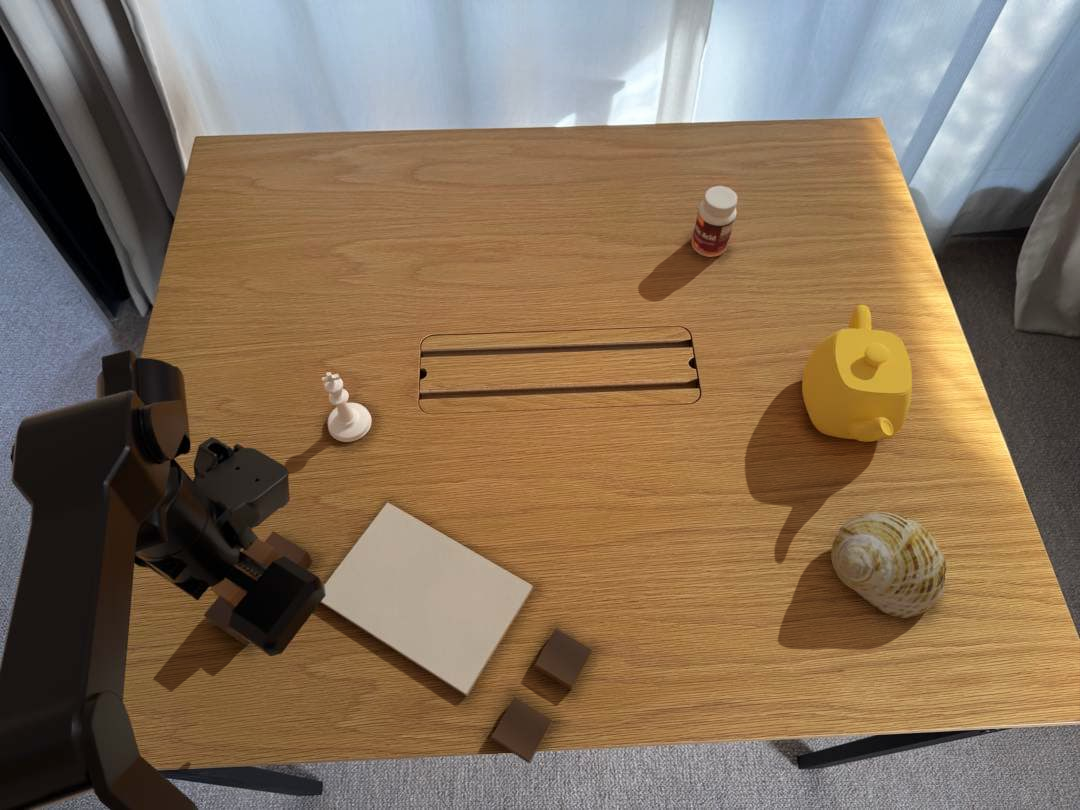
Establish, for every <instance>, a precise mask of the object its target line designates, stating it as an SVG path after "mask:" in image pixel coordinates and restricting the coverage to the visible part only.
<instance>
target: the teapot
mask: <svg viewBox="0 0 1080 810" xmlns="http://www.w3.org/2000/svg"><path fill="white" fill-rule="evenodd" d="M802 373H803V374H802V383H801V392H802V397H803V403H804V405H805V408H806V411H807V414H808V416H809V419H810V421H811V423H812V425H813V427H814V428H815V429H817V431H819V432H820V433H821V434H823V435H826V436H829V437H833V438H839V439H845V440H846V439H849V440H856V441H860V442H863V443H864V442H866V443H867V442H870V443H871V442H875V441H879V440H885V439H889V438H892V437H893V436H895V435H896V434H897V433H898V432H900V430H901V429H902V427H903V425H904V424H905V422H906V419H907V417H908V413H909V410H910V407H911V400H912V389H913V372H912V364H911V359H910V356H909V353H908V350H907V348H906V345H905V343H904V342H903V340H902V339H901V337H899V336H898V335H897V334H896V333H893V332H889V331H886V330H879V329H872V314H871V310H870V308H869V307H868V306H867V305H866V304H859V305H857V306H855V307H854V309H853V311H852V314H851V317H850V320H849V323H848V328H842V329H840V330H837V331H836V332H834V333H832V334H830V335H829V336H827V337H826V338H824V339H823V340H822V341H821V342H820V343H819V344H817V346H816V347H815V348H814V349H813V350H812V352H811V353H810V355H809V356H808V358H807V360H806V362H805V365H804V369H803V372H802Z"/></svg>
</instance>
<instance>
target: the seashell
mask: <svg viewBox="0 0 1080 810" xmlns="http://www.w3.org/2000/svg"><path fill="white" fill-rule="evenodd" d="M830 553H831V555H830V556H831V563H832V567H833V570H834V572H835V573H836V576H837V577H838V578H839V579H840V581H841V582H842V583H843V584H844V585H845V586H847V587H848V588H850V589H851V590H854V591H855V592H856V593H857V594H858V595H859V596H860V597H862V598H863V599H864V600H866V601H867V602H868V603H869V604H871V605H872V606H873V607H875V608H877V609H878V610H879V611H881V612H883V613H884V614H887V615H888V616H889V615H890V616H892V617H895V618H900V619H906V618H913V617H916V616H919V615H920V614H922V613H925V611H927V610H929V609H931V608H932V607H933V606H934V605H935V604H936V603H937V602H938V601H939V600H940V598H941V597H942V596H943V594H944V591H945V585H946V584H945V583H946V572H947V561H946V558H945V555H944V554H943V553H942V551H941V548H940V546H939V544H938V543H937V541H936V539H935V538H934V537H933V535H932V534H931V533H930V532H929V531H928V530H927V529H926V528H925V527H924V526H923V525H922V524H921V523H920V522H918V521H916V520H911V519H909V518H907V517H905V516H903V515H900V514H897V513H894V512H888V511H870V512H865V513H863V514H860V515H857V516H855V517H853V518H852V519H850V520H848V521H847V522H846V523H844V524H843V525H842V526H841V527H840V528H839V530H838V533H837V534H836V536H835V537H834V539H833V542H832V544H831V551H830Z"/></svg>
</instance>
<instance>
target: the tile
mask: <svg viewBox="0 0 1080 810" xmlns="http://www.w3.org/2000/svg"><path fill="white" fill-rule="evenodd" d="M324 585H325V593H326V596H325V597H324V598H323V600H322V601H321V602H320V604H321V605H323V606H325V607H326V608H328V609H329V610H331V611H332V612H334V613H336V614H337V615H339V616H340V617H342V618H343V619H345V620H347V621H348V622H350V623H351V624H353V625H354V626H356V627H357V628H359V629H361V630H362V631H363V632H366V633H367V634H368V635H370V636H372V637H373V638H374V639H377V640H378V641H379V642H381V643H383V645H386V646H387V647H389V648H390V649H392V650H393V651H395V652H396V653H398V654H400V655H401V656H403V657H404V658H406V659H407V660H409V661H411V662H412V663H414V664H415V665H416V666H419V668H421V669H423V670H424V671H426V672H427V673H429V674H431V675H432V676H434V677H436V678H437V679H439V680H440V681H441V682H443V683H445V684H446V685H448V686H449V687H451V688H453V689H454V690H455V691H457V692H459V693H460V694H462V695H463V696H465V697H469V694H470V693H471V692H472V689H473V688H474V687H475V684H476V682H477V681H478V680H479V678H480V676H481V675H482V672H483V671H484V670H485V669H486V667H487V666H488V663H489V661H490V660H491V658H492V656H493V655H494V654H495V652H496V651H497V649H498V647H499V645H500V644H501V642H502V640H503V639H504V637H505V635H507V632H508V631H509V629H510V627H511V626H512V624H513V623H514V621H515V619H516V617H517V616H518V614H519V612H520V611H521V610H522V608H523V606H524V605H525V603H526V601H527V599H528V598H529V597H530V595H531V593H532V592H533V589H534V587H533V584H530V583H528V582H527V581H525V580H524V579H522V578H520V577H518V576H517V575H515V574H513V573H511V572H509V571H508V570H506V569H505V568H503V567H502V566H501V567H500V566H499V565H498V564H496V563H494V562H492V561H491V560H489V559H487V558H486V557H484V556H482V555H480V554H478V553H476V552H475V551H473V550H472V549H470V548H468V547H467V546H464V545H463V544H461V543H460V542H457V541H456V540H454V539H452V538H450V537H449V536H447V535H445V534H444V533H442V532H440V531H438V530H437V529H435V528H433V527H431V526H430V525H428V524H427V523H425V522H423V521H421V520H420V519H418V518H416V517H414V516H413V515H411V514H410V513H407V512H405V511H404V510H402V509H400V508H398V507H397V506H395V505H393V504H392V503H390V502H388V501H387V502H386V504H385V505H384V506H383V507H382V509H381V510H380V511H379V513H378V514H377V515H376V517H375V518H373V520H372V522H370V524H369V525H368V527H367V528H366V529H365V531H364V532H363V533H362V535H360V537H359V539H358V540H357V541H356V542H355V544H354V545H353V546H352V548H351V549H350V550H349V552H348V553H347V554H346V556H345V557H344V558H343V560H342V561H341V563H340V564H339V565H338V566H337V568H336V569H335V570H334V572H333V573H332V574H331V575H330V576H329V578H328V579H327V580H326V582H325V583H324Z"/></svg>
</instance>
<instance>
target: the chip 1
mask: <svg viewBox="0 0 1080 810" xmlns="http://www.w3.org/2000/svg"><path fill="white" fill-rule="evenodd" d="M552 724H553V719H552V718H550V717H548V716H547V715H545V714H543V713H542V712H540V711H539V710H537V709H535V708H534V707H532V706H531V705H529V704H528V703H526V702H525V701H523V700H522V699H519V698H518V697H516V696H514V697H513V698H512V700H511V702H510V704H509V705H508V707H507V708H506V710H505V712H504V715H502V717H501V719H500V721H499V722H498V724H497V726H496V728H495V729H494V731H493V733H492V735H491V739H492V741H493V742H495V743H497V744H498V745H499V746H501V747H503V748H504V749H506V750H508V751H509V752H510V753H512V754H514V755H515V756H516V757H518V758H520V759H521V760H523V761H525V762H526V763H527V764H531V763H532V761H533V759H534V758H535V756H536V754H537V752H538V750H539V749H540V747H541V744H542V743H543V741H544V739H545V738H546V735H547V733H548V732H549V730H550V728H551V726H552Z"/></svg>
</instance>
